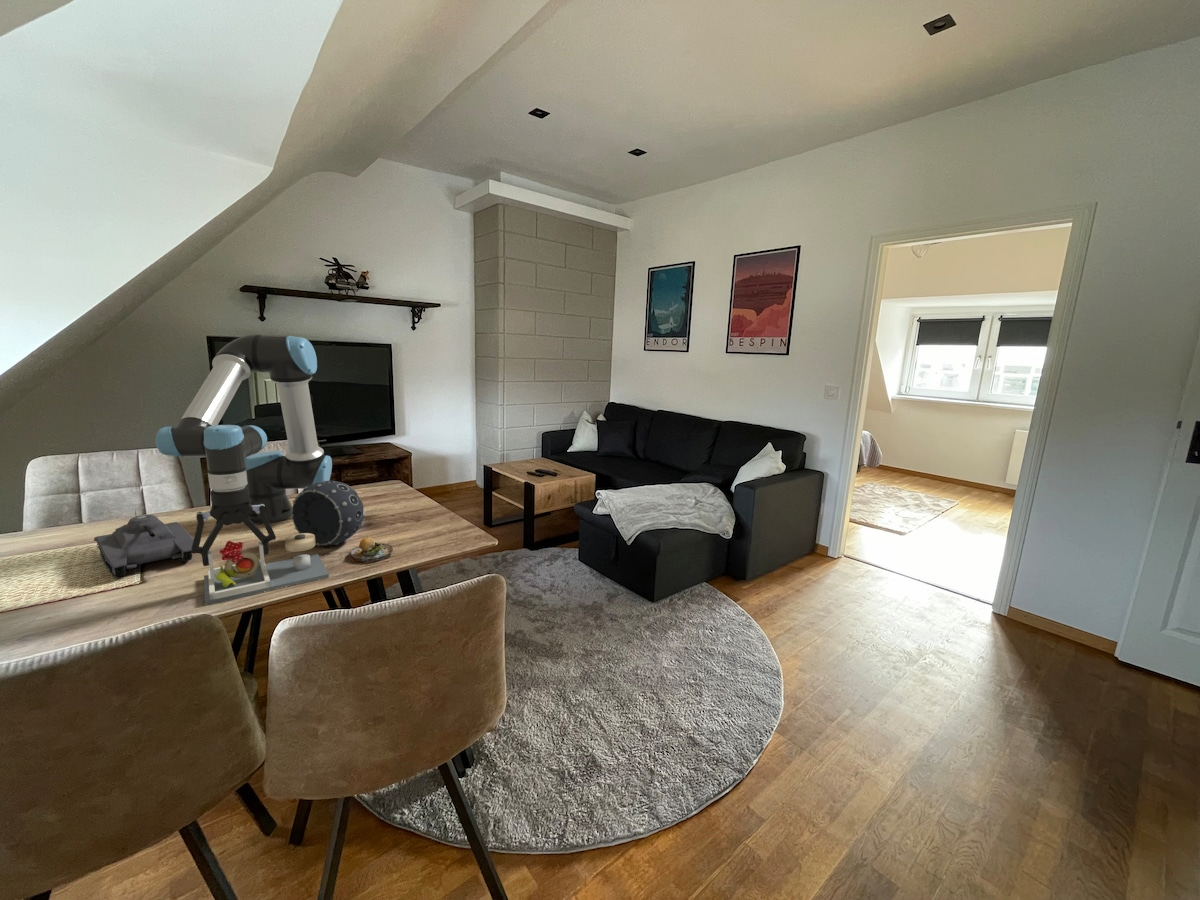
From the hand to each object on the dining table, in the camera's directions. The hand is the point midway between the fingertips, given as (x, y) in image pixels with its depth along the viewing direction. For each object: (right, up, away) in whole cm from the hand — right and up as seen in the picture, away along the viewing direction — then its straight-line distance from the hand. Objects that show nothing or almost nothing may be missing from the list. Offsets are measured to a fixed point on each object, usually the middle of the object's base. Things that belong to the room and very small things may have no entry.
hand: (238, 571), depth 123 cm
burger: (+24, -1, +22) cm, 32 cm away
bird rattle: (0, -3, +1) cm, 3 cm away
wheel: (+11, +5, +8) cm, 14 cm away
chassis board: (+4, -3, +4) cm, 7 cm away
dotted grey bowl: (+8, +2, +29) cm, 30 cm away
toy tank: (-35, 0, +12) cm, 37 cm away
